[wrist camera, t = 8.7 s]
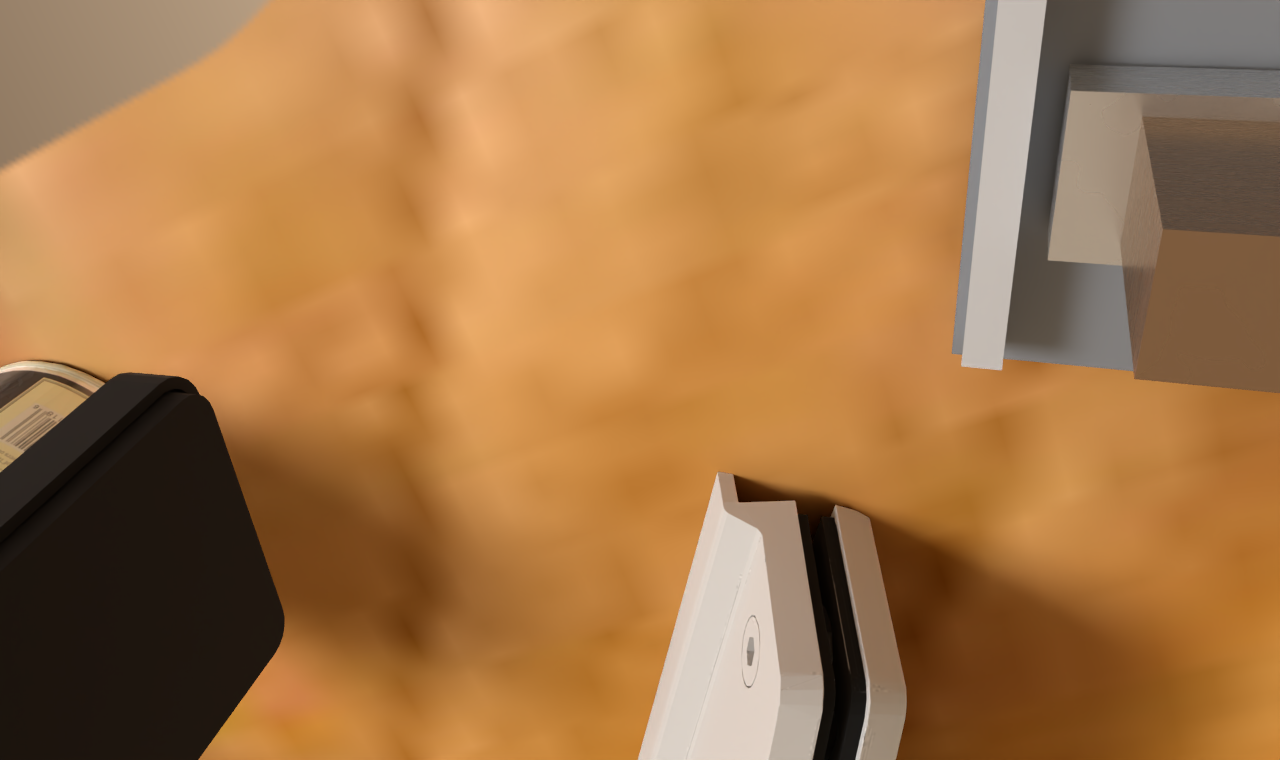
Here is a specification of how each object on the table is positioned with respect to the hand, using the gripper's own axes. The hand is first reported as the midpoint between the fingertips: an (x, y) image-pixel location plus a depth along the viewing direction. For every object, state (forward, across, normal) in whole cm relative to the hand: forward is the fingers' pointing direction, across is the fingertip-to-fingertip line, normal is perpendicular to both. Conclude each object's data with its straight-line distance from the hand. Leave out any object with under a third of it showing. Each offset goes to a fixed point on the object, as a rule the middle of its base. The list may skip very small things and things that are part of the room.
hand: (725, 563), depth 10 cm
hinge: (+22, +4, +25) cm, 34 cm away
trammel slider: (+21, -8, +5) cm, 23 cm away
